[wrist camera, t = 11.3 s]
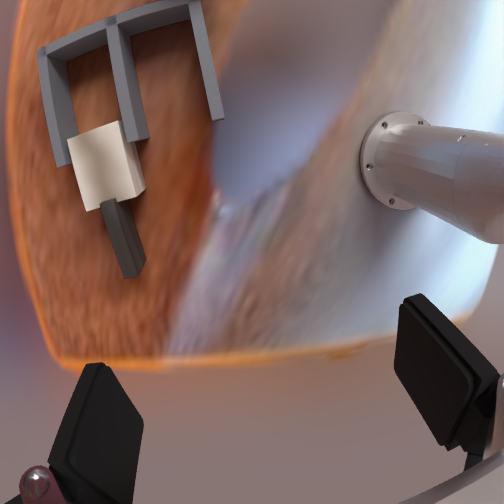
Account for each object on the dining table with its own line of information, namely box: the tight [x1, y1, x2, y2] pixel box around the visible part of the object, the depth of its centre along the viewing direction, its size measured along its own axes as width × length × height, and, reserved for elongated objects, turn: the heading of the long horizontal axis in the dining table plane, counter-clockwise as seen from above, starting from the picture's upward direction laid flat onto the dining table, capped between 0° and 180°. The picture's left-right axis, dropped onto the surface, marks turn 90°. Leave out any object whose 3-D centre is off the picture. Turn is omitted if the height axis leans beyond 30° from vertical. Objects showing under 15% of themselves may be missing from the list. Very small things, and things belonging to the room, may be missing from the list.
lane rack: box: [37, 0, 225, 168], centre depth 27 cm, size 18×14×5 cm
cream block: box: [67, 121, 146, 279], centre depth 31 cm, size 6×16×6 cm, turn 11°
